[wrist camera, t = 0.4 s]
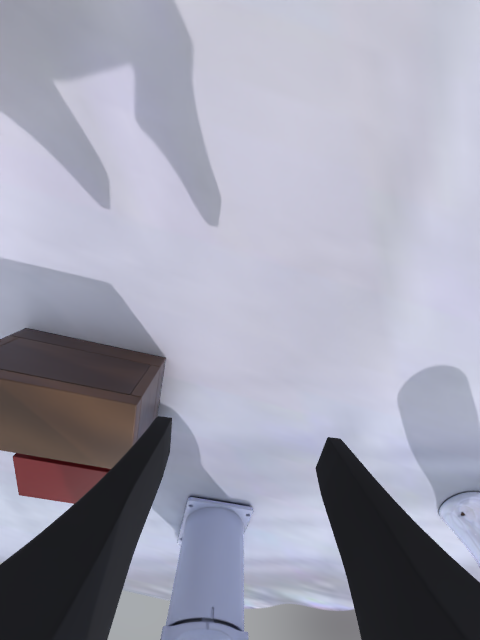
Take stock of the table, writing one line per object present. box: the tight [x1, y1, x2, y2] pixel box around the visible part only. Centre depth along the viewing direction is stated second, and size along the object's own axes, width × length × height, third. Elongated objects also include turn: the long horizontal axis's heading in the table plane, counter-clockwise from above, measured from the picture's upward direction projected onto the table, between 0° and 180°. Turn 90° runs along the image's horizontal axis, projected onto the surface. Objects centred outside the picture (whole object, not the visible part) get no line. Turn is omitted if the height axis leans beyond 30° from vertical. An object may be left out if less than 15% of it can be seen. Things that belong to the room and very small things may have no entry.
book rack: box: [0, 328, 166, 469], centre depth 19 cm, size 15×12×6 cm
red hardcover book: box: [13, 453, 111, 504], centre depth 21 cm, size 5×8×3 cm, turn 76°
